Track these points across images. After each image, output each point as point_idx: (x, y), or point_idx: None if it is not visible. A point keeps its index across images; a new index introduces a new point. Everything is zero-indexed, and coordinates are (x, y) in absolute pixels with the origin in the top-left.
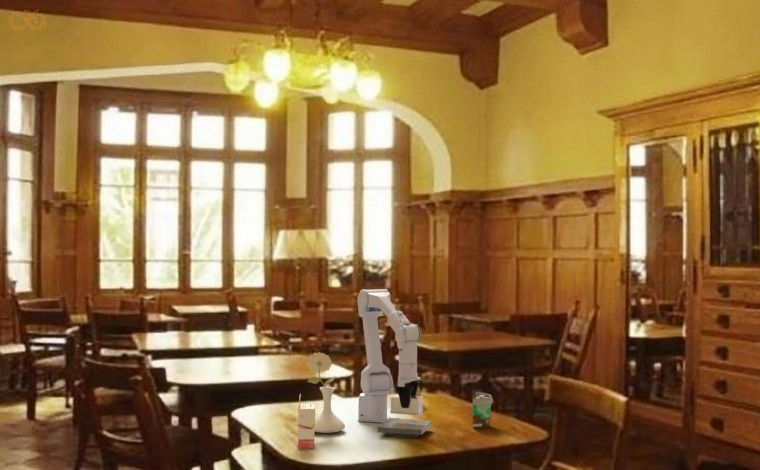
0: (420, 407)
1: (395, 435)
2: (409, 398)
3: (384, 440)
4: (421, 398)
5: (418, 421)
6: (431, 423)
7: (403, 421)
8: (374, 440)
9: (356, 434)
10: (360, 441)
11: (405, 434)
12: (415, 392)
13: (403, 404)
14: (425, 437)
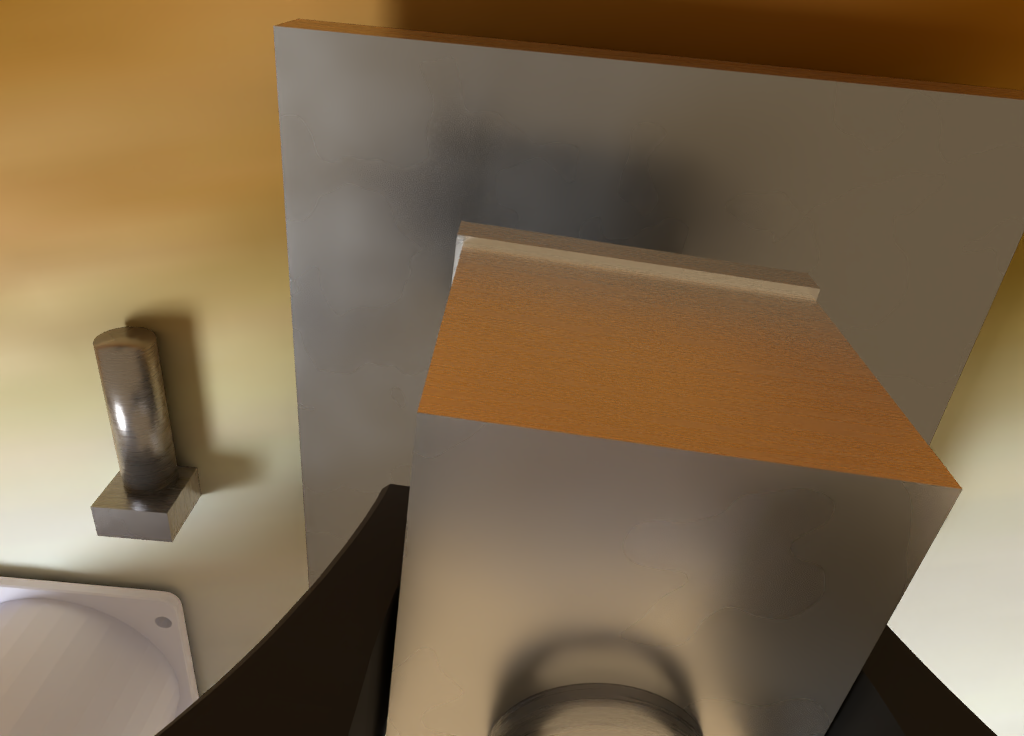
0: (647, 307)
1: None
2: (927, 699)
3: (970, 495)
4: (572, 408)
5: (405, 247)
6: (299, 23)
7: None
8: (963, 574)
9: None
10: (996, 664)
11: None
12: (361, 692)
13: None
14: (814, 43)
